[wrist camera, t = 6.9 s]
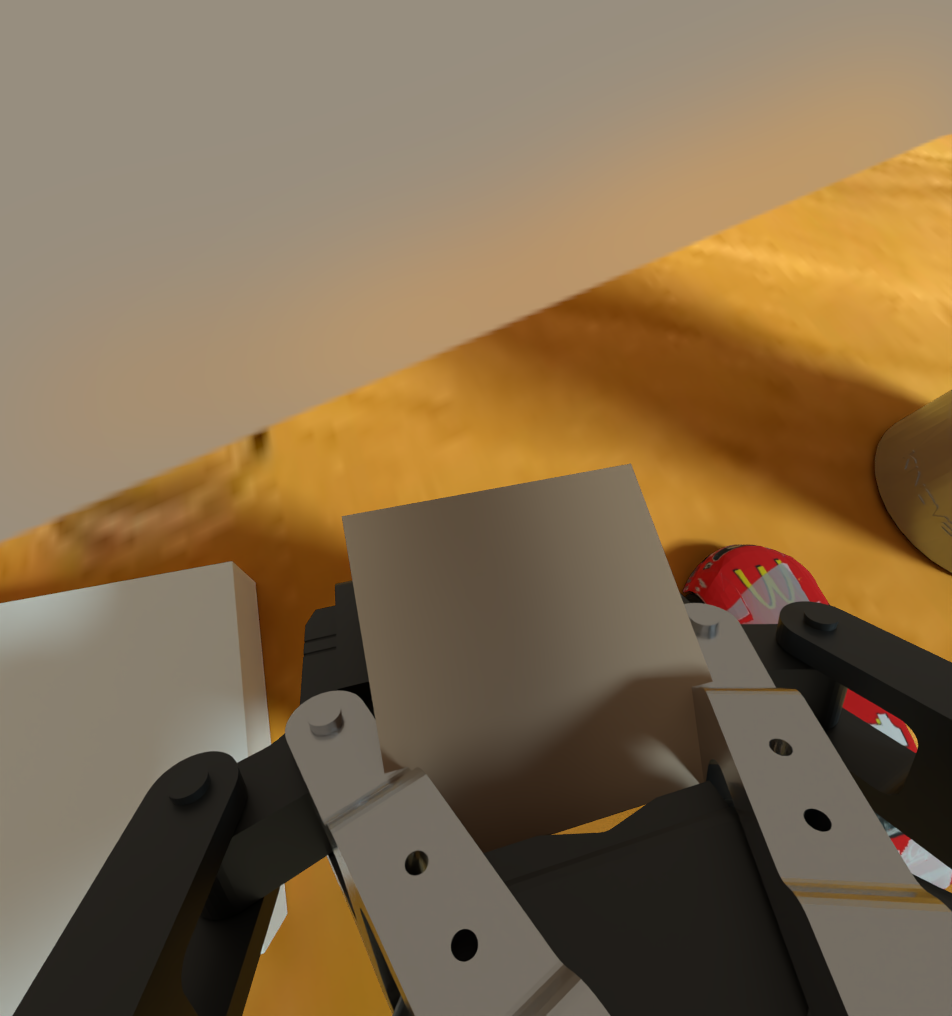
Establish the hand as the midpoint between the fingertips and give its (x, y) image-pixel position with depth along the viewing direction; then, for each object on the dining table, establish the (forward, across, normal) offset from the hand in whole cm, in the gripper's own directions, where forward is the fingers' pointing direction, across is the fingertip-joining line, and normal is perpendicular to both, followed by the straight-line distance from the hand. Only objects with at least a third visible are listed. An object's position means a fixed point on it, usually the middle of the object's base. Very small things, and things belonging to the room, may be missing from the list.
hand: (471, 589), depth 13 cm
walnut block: (+2, 0, +4) cm, 5 cm away
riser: (+4, +12, +7) cm, 15 cm away
